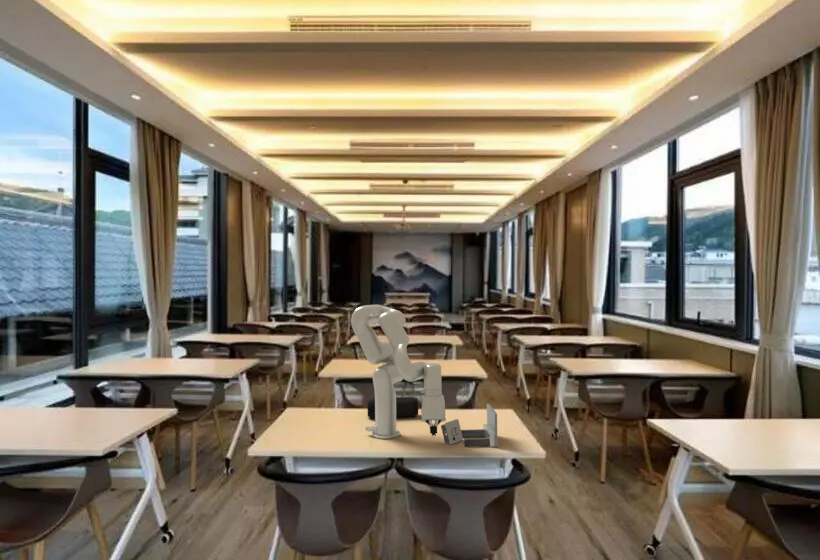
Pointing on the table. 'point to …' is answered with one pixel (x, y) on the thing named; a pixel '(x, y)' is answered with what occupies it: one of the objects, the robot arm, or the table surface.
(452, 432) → the electrical switch
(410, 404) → the portable speaker
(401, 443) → the table surface
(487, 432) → the rail mount
